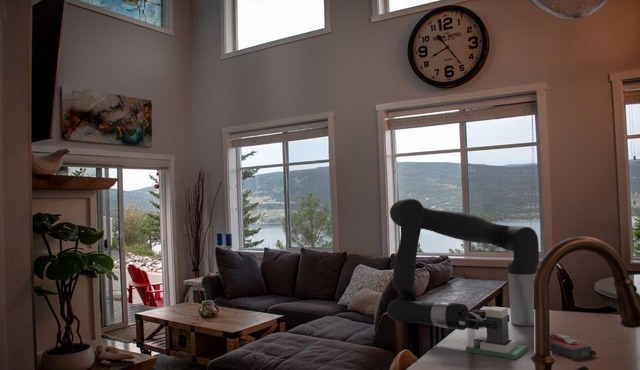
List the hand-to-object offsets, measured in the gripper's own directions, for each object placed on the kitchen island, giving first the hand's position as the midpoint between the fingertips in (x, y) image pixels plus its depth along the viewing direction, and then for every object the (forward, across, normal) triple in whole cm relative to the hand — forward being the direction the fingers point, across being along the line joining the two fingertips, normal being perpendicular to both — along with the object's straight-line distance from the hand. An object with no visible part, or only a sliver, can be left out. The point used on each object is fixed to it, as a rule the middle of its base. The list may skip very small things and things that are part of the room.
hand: (503, 321), depth 138 cm
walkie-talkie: (+12, +12, +9) cm, 19 cm away
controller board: (-3, +1, +9) cm, 9 cm away
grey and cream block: (-2, 0, +8) cm, 8 cm away
